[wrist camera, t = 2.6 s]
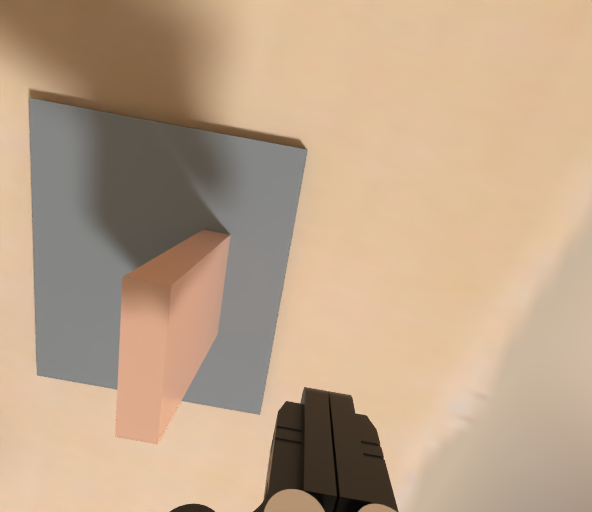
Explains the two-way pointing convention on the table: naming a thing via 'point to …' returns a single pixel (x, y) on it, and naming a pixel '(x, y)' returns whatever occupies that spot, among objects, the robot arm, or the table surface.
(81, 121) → the mat
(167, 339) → the tile
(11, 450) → the table surface
